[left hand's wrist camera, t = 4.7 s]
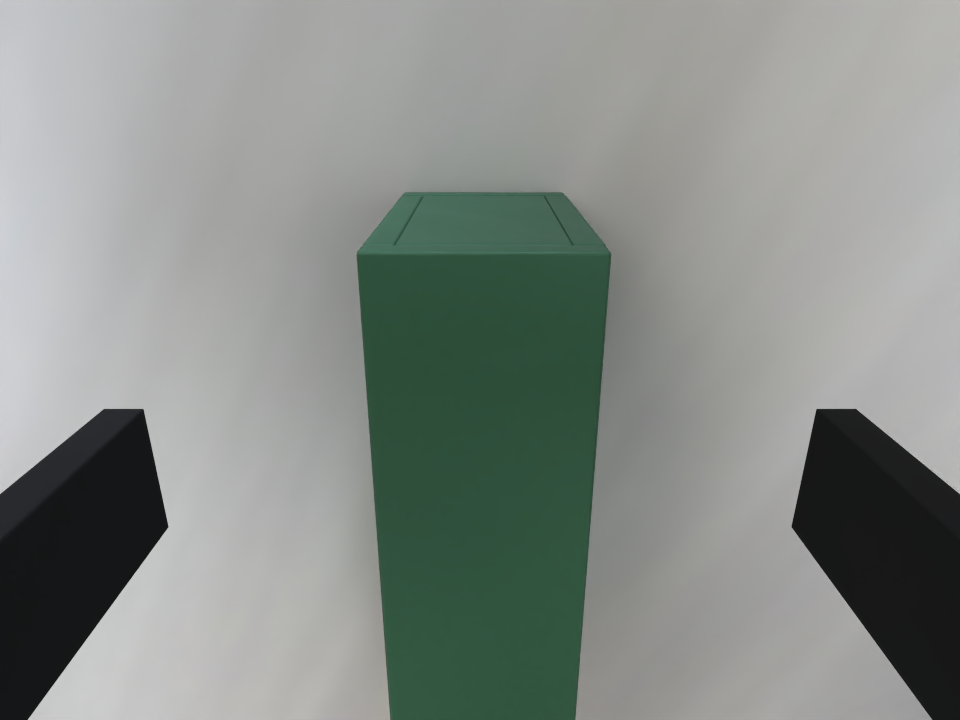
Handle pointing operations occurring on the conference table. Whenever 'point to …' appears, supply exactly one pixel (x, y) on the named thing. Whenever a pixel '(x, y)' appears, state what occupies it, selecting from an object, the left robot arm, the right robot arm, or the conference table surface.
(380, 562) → the cabinet
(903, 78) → the conference table surface
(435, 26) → the conference table surface
